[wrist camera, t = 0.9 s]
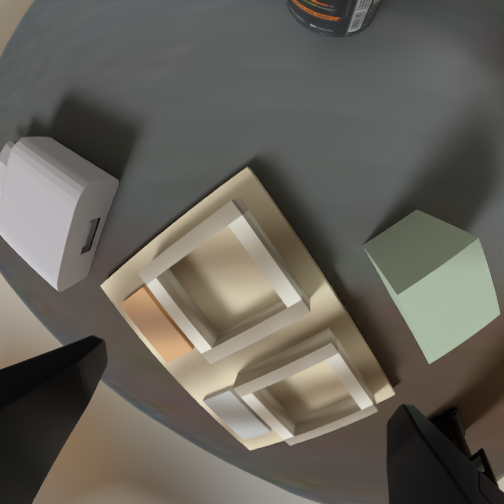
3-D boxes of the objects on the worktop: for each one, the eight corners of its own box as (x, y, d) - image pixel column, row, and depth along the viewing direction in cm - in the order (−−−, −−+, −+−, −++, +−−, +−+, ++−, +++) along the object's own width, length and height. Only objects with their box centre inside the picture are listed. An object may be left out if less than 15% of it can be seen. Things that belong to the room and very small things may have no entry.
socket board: (393, 388, 21) (400, 410, 19) (251, 444, 26) (246, 465, 23) (249, 166, 18) (240, 167, 16) (105, 282, 23) (86, 295, 20)
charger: (23, 116, 20) (123, 178, 20) (2, 198, 23) (89, 275, 23) (-12, 115, 16) (83, 184, 16) (-30, 206, 19) (55, 296, 19)
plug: (441, 263, 18) (500, 313, 10) (391, 297, 19) (429, 364, 12) (416, 209, 17) (478, 237, 10) (362, 245, 19) (397, 295, 11)
